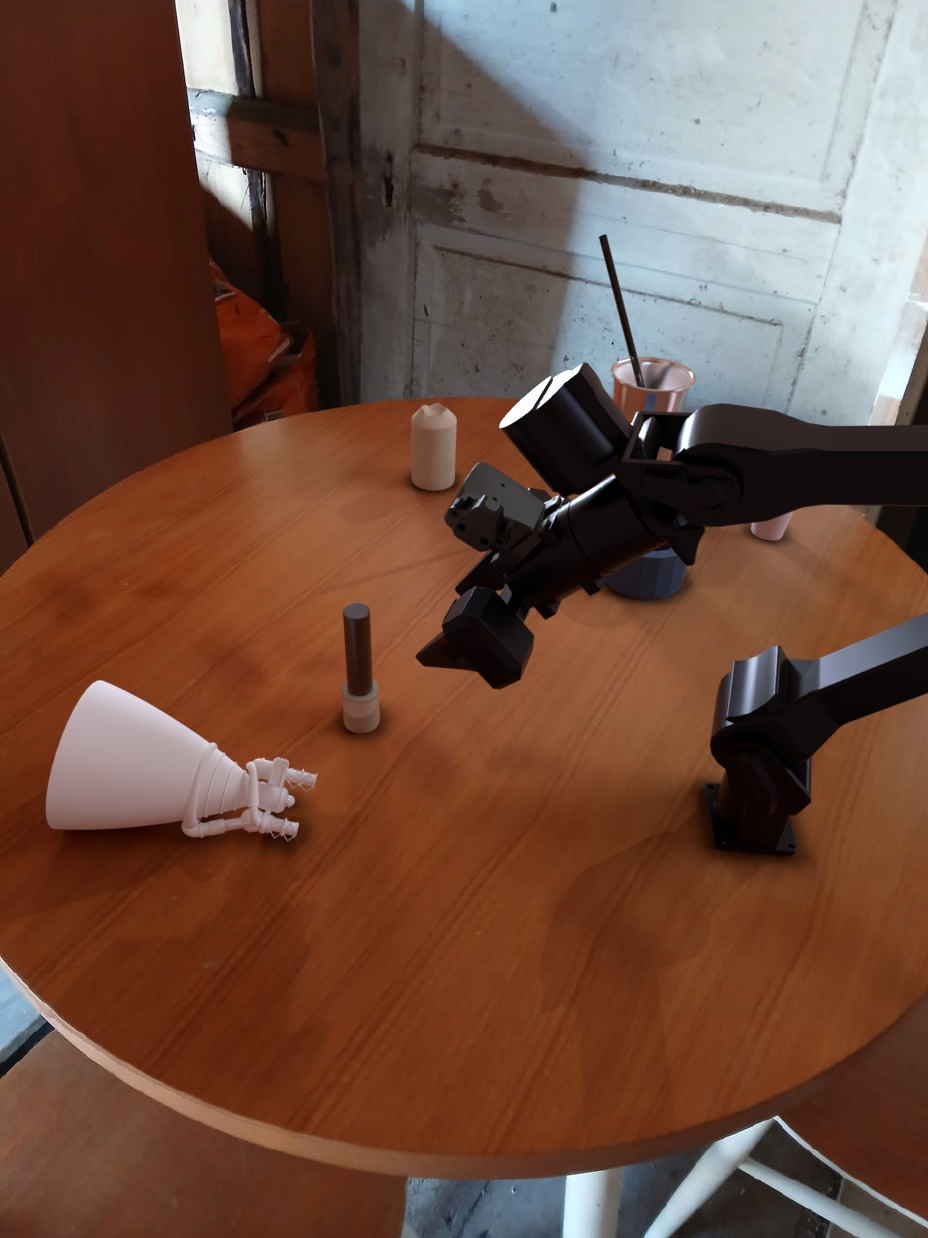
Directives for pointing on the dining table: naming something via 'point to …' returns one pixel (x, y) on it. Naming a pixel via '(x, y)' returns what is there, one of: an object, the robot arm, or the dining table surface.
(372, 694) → the pestle
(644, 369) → the glass
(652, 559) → the jar
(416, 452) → the candle
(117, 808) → the rocket engine
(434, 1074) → the dining table surface
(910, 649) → the robot arm
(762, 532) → the smoothie
